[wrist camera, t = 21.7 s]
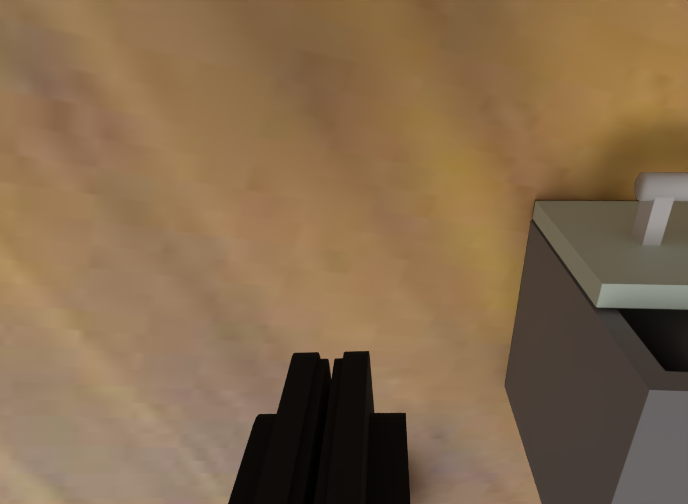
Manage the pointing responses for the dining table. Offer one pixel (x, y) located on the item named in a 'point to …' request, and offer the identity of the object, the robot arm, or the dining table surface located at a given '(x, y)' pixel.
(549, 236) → the drawer
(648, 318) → the salt shaker
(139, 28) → the dining table surface
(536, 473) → the cabinet
